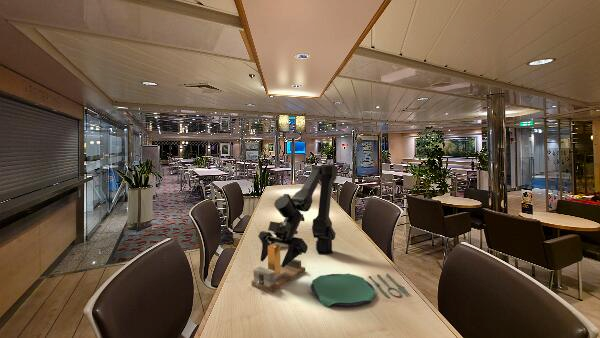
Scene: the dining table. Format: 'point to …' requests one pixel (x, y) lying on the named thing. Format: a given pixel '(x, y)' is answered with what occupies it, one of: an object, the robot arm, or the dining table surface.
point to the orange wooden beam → (274, 262)
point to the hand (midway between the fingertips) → (271, 263)
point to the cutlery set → (348, 289)
